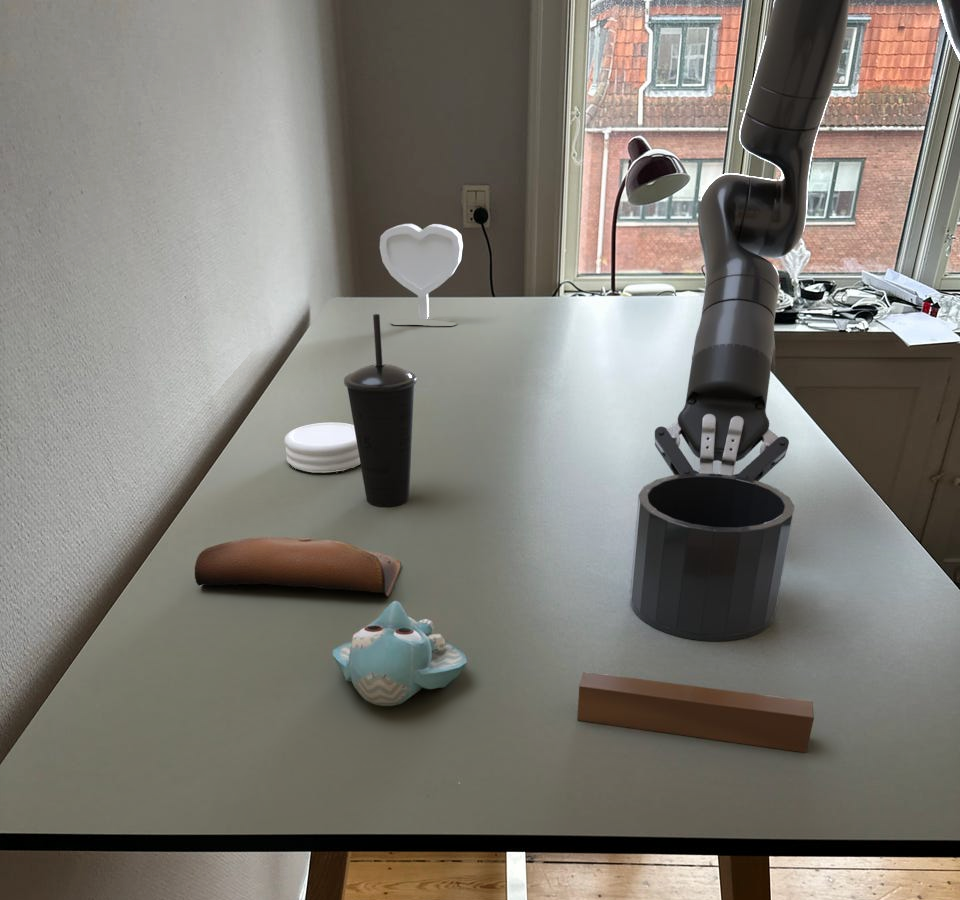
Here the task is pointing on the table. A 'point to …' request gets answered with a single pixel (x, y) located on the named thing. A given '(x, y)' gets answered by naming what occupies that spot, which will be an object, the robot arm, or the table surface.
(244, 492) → the table surface
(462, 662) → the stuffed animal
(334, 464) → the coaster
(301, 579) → the sunglasses case
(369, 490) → the drinking cup
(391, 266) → the heart sculpture
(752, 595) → the pot
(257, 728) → the table surface
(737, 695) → the block
